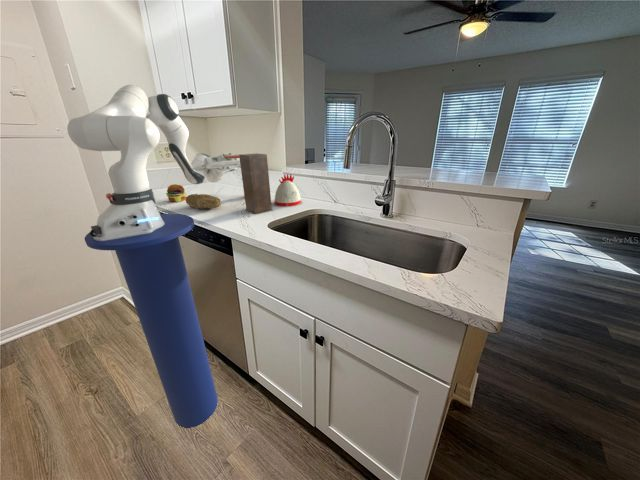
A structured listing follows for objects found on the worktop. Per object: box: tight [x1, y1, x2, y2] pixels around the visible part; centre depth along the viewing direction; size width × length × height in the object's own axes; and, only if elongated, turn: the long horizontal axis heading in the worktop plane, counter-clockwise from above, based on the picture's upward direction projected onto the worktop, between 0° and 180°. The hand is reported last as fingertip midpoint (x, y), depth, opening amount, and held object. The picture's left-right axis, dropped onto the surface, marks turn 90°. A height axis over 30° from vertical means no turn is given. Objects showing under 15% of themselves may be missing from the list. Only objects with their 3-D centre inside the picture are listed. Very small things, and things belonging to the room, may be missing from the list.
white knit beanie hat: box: [274, 173, 302, 207], centre depth 137 cm, size 14×14×15 cm
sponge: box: [185, 193, 222, 210], centre depth 132 cm, size 13×8×20 cm
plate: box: [223, 153, 242, 158], centre depth 133 cm, size 8×19×1 cm, turn 42°
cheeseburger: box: [165, 184, 188, 203], centre depth 148 cm, size 10×11×10 cm
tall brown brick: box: [239, 152, 273, 215], centre depth 122 cm, size 9×9×26 cm
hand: (227, 154), depth 137 cm, fingers closed on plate, 3 cm apart
